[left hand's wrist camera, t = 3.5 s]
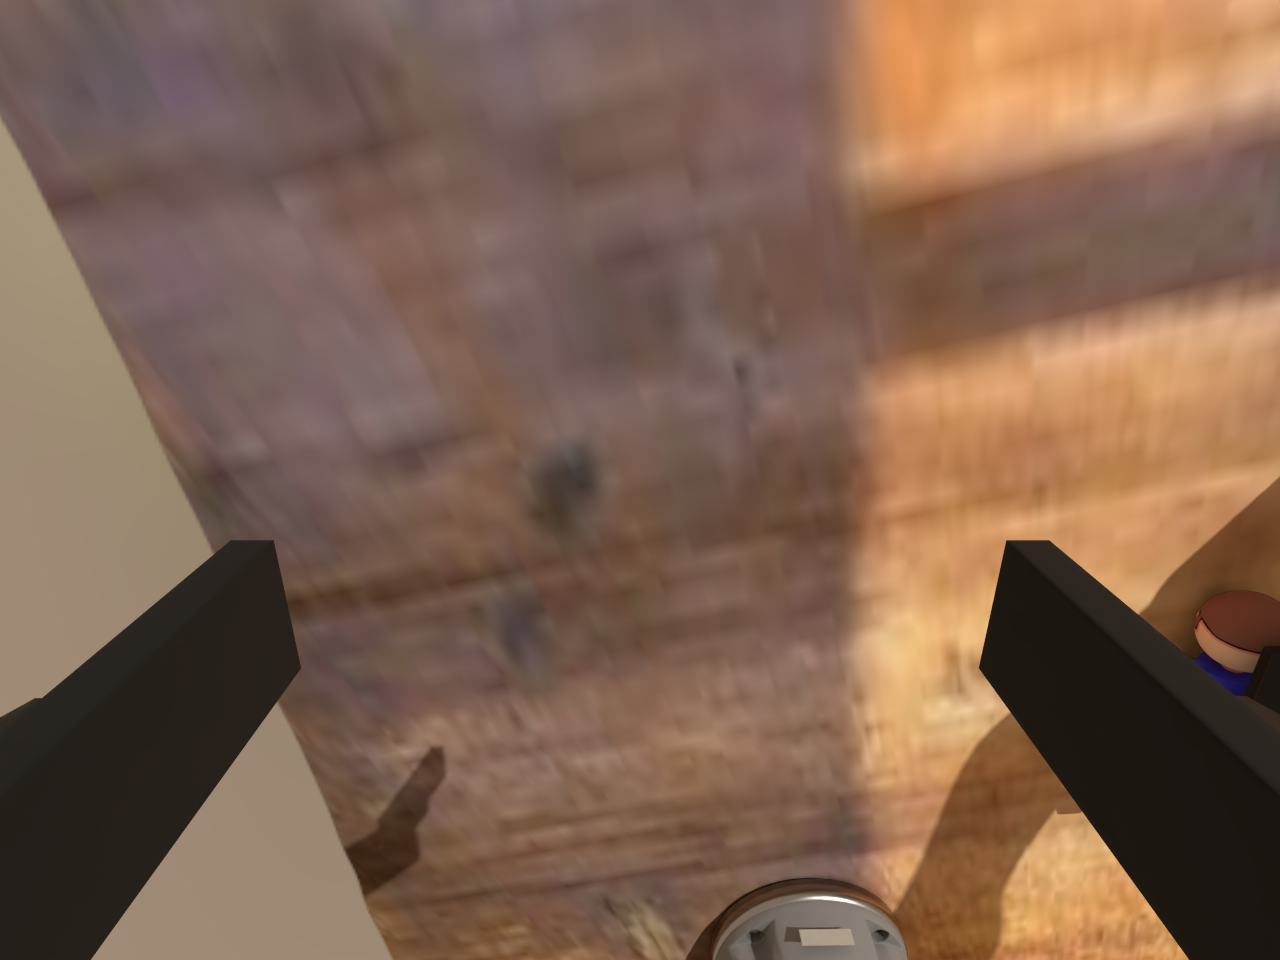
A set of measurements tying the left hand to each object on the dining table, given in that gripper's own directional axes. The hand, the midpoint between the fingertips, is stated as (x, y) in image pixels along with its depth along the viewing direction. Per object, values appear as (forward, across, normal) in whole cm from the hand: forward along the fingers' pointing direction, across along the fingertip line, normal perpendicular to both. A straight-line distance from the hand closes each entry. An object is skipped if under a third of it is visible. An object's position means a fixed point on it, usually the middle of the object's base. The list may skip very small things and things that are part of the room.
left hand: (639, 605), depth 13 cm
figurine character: (+28, -37, +23) cm, 52 cm away
